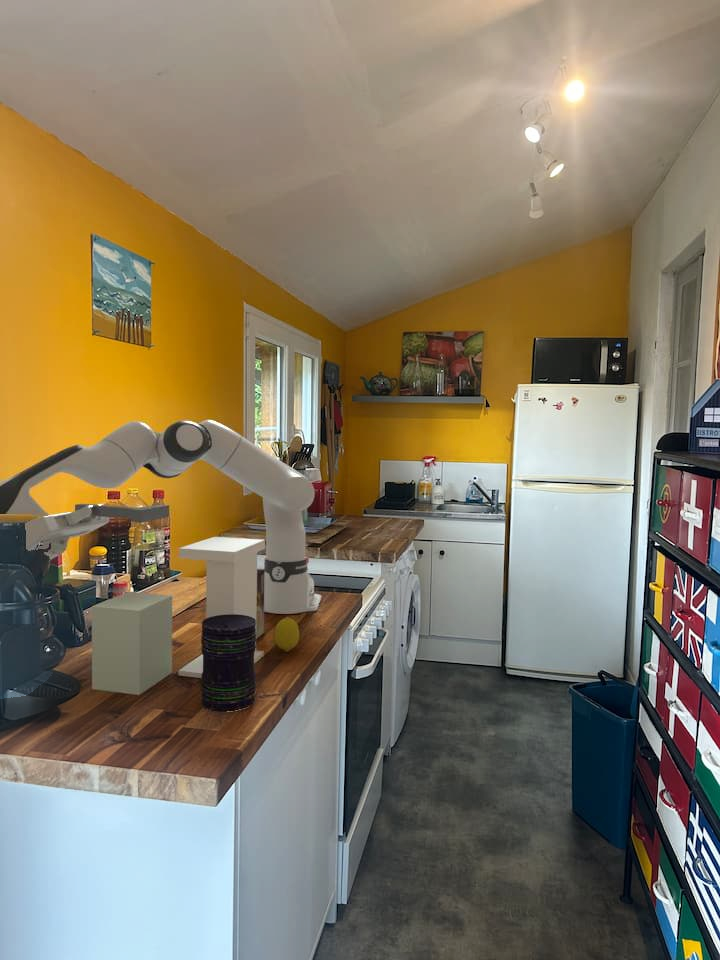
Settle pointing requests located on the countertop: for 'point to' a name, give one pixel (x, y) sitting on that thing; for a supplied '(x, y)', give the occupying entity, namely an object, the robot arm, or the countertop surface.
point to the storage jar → (228, 662)
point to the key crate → (131, 642)
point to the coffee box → (260, 603)
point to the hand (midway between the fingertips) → (97, 508)
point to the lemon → (287, 634)
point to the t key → (129, 512)
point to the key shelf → (226, 582)
